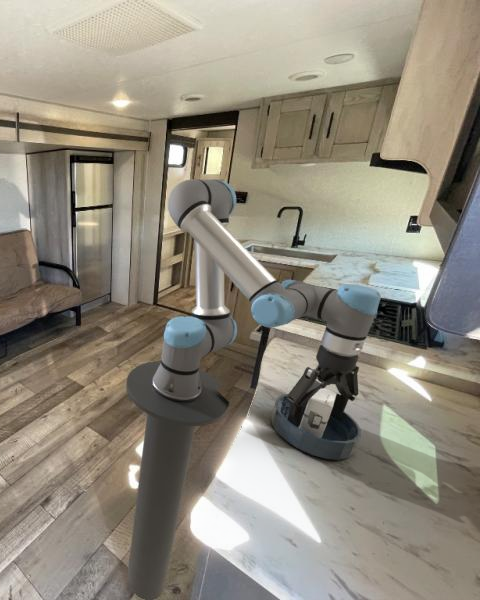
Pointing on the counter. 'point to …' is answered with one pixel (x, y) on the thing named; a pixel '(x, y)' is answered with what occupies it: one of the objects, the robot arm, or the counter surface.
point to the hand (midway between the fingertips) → (313, 420)
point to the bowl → (332, 445)
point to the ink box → (318, 412)
